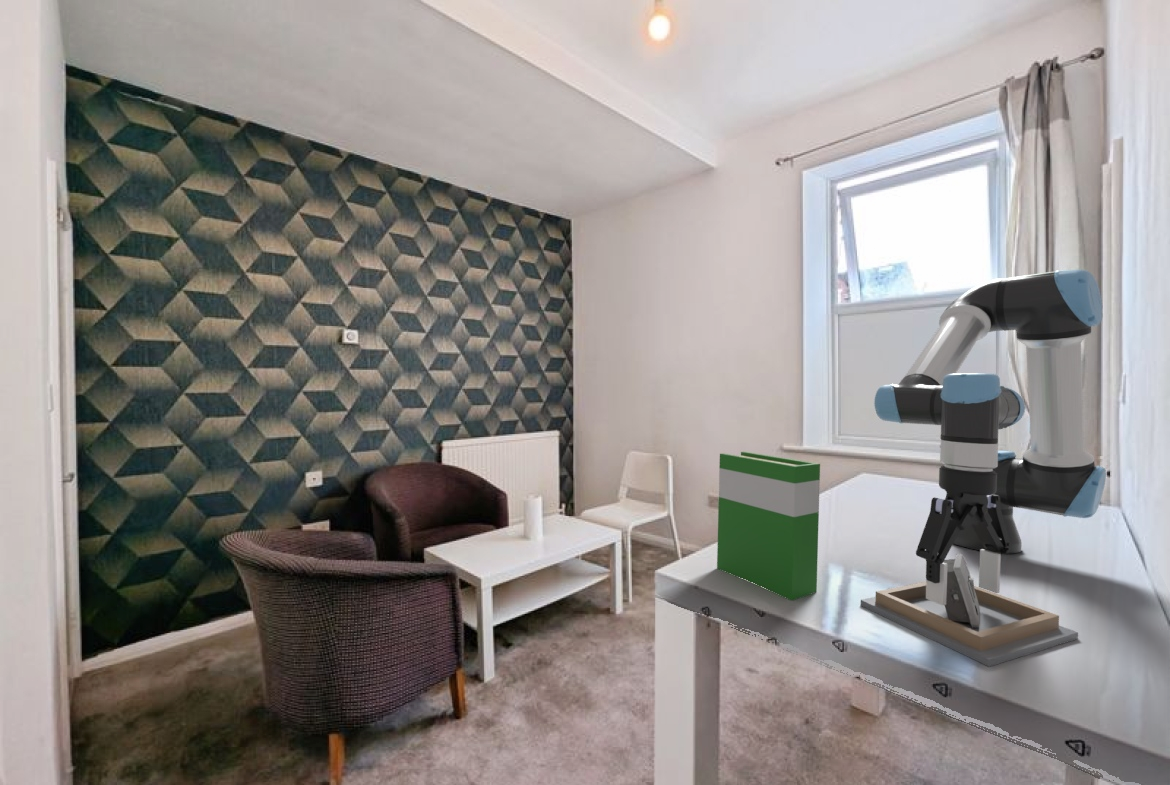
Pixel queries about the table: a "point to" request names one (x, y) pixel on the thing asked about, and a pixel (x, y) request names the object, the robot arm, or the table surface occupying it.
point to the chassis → (1000, 630)
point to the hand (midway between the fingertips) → (963, 595)
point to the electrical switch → (961, 593)
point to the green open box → (769, 522)
